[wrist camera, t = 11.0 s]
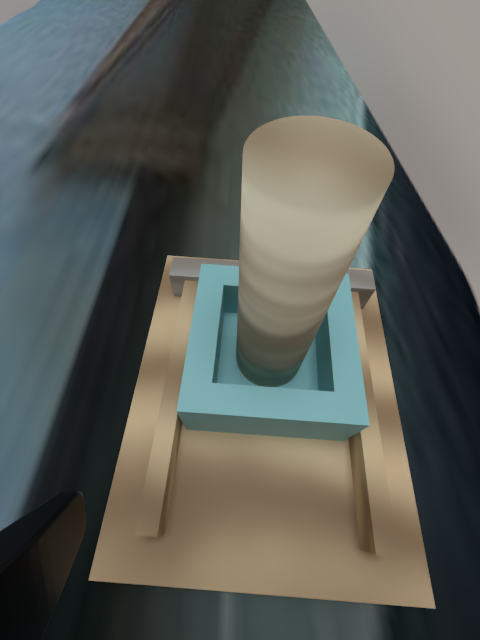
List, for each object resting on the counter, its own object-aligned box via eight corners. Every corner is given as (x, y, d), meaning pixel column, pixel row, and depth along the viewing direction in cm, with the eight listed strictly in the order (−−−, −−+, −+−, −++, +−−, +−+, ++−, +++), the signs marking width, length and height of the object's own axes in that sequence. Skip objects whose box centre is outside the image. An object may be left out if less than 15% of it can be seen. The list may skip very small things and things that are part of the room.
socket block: (343, 441, 18) (369, 425, 15) (186, 429, 18) (176, 411, 15) (330, 309, 23) (348, 273, 19) (205, 300, 23) (201, 263, 19)
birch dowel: (289, 397, 18) (381, 224, 7) (225, 373, 19) (218, 179, 8) (308, 340, 20) (403, 134, 9) (249, 320, 21) (271, 104, 10)
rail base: (426, 604, 15) (469, 625, 12) (94, 577, 15) (64, 592, 13) (367, 275, 25) (384, 247, 23) (169, 262, 26) (161, 232, 23)
